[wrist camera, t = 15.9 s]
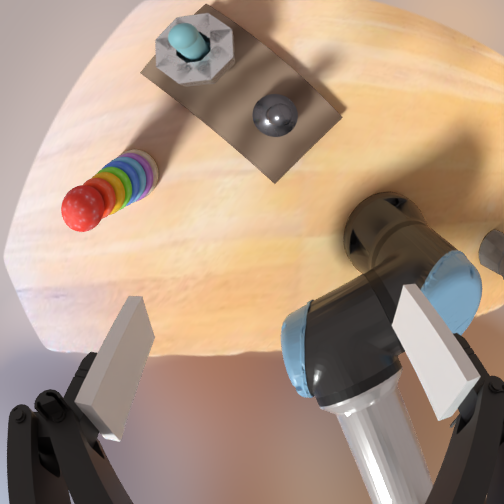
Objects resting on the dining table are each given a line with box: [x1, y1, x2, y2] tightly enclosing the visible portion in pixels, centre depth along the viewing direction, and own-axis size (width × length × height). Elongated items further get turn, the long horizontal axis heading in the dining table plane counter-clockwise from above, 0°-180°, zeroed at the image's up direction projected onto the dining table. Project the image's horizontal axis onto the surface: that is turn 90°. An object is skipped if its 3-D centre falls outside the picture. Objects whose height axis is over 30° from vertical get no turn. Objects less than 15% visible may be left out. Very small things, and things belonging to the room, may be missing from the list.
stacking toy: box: [61, 150, 158, 232], centre depth 33 cm, size 8×8×19 cm
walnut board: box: [140, 4, 343, 184], centre depth 35 cm, size 26×14×2 cm, turn 47°
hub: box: [168, 23, 211, 63], centre depth 26 cm, size 7×7×14 cm
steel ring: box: [156, 13, 235, 87], centre depth 28 cm, size 9×9×4 cm
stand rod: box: [252, 94, 298, 137], centre depth 31 cm, size 6×6×11 cm
